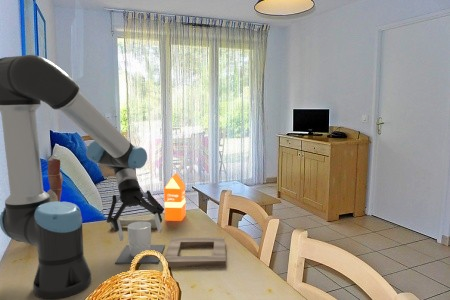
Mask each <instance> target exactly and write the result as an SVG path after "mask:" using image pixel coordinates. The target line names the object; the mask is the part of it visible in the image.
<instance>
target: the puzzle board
mask: <svg viewBox="0 0 450 300" xmlns="http://www.w3.org/2000/svg"><path fill="white" fill-rule="evenodd" d="M225 238H226V237H224V236H223V237H222V236H221V237H219V236H217V237H212V236H210V237H171V238H170V240H169V242H168V243H169V244H168V246H167V249H166V251H165V254H164V257H165V258H166V259H167V261H168V263H169V267H170V268H172V269H173V268H175V269H176V268H226V267H227V257H226V255H227V253H226V239H225ZM181 248H213V255H180V253H181ZM170 268H169V269H170Z"/></svg>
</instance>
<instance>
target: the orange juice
mask: <svg viewBox="0 0 450 300" xmlns="http://www.w3.org/2000/svg"><path fill="white" fill-rule="evenodd" d="M163 191H164V194H163V195H164V220H165V221H173V222H176V221H177V222H178V221H179V222H182V221H183V220H184V218H185V217H186V215H187V213H186V211H187V210H186V184H185V183H184V181H183V180H182V179H181V177H180V176H179V174H178V173H177V172H176V173H175V174H174V175H173V176H171V178H170V179H169V181H168V182H167V184H166V185H165V187H164V188H163Z"/></svg>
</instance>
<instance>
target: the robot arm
mask: <svg viewBox="0 0 450 300" xmlns="http://www.w3.org/2000/svg"><path fill="white" fill-rule="evenodd" d="M41 102H43V103H45V104H47V105H48V106H49V107H50V108H51V109H53V110H60V111H61V112H62V114H64V115H65V116H66V117H67V118H68V119H69V120H70V121H72V122H73V123H74V124H75V125H76V126H77V127H78V128H80V129H81V130H82V131H83V132H84V133H85V134H87V136H89V137H90V138H91V139H92V140H93V141H92V142H90V143H89V145H88V146H87V148H86V151H85V155H86V158H87V159H88V160H89V161H90V162H91V161H92V162H93V163H95V164H98V165H101V166H103V167H106V168H108V169H111V170H113V172H114V177H115V181H116V185H117V190H118V193H119V195H118V196H117V195H112V197H111V206H110V209H109V212H108V214H107V218H106V223H108V224H111V223H112V224H113V226H114V228H113V231H114V232H117V233H118V237H119V241H120V242H121V241H123V239H124V233H123V229H122V227H121V224H120V220H118V218H119V217H120V218H121V215H122V214H123V212H124V210H126V207H129V208H132V207H138V206H140V207H142V208H144V209H146V210H147V211H148V212H150V213H151V214H153V216H154V219H155V222H156V226H157V228H156V229H157V232H158V234H160V233H162V232H163V226H162V221H163V218H162V215H161V214H163V213H164V212H165V207H163V206H162V205H161V204H160V203H159V202H158V201H157V199H156V198H155V197H154V196H153V195H152V193H151V191H150V190H147V191H146V192H142V191H141V187H140V184H139V180H138V177H137V173H136V169H142V168H143V167H145V165H146V163H147V161H148V154H147V151H146V150H145V148H143V147H141V146H138V145H136V146H135V145H134V144H132V143H131V141H129V140H128V139H127V138H126V136H124V135H123V133H121V132H120V131H119V129H117V128H116V126H114V125H113V124H112V122H110V120H109V119H108V118H107V117H106V116H105V115H103V114H102V112H100V110H99V109H97V107H96V106H95V105H94V104H93V103H92V102H91V101H90V100H89V99H87V97H86V96H85V95H84V94H83V93H82V92H81V90H80V85H79V83H77V82H76V81H75V80H74V79H73V78H72V77H71V76H70V75H69V74H68V73H67V72H65V71H64V70H63V69H62V68H61V67H59V66H58V65H56V64H55V63H54V62H52V61H50V60H48V59H47V58H45V57H42V56H39V55H35V54H26V55H25V54H24V55H18V56H17V55H16V56H6V57H0V113H1V114H0V115H1V122H2V123H1V124H2V132H3V140H4V141H3V142H4V149H5V158H6V160H5V161H6V167H7V169H6V170H7V175H8V185H9V186H8V187H9V196H8V197H6V198H5V200H4V206H5V207H4V208H3V211H2V212H0V229H1V231H2V233H4V235H6V236H7V237H9V239H12V240H14V241H16V242H20V243H24V244H27V245H30V246H34V247H37V257H38V266H37V269H36V272H35V275H34V280H33V283H32V288H33V294H34V295H35V296H36V297H38V298H41V299H45V300H54V299H55V300H56V299H62V298H63V299H64V298H68V297H70V296H74V295H77V294H79V293H80V292H82V291H84V290H85V289H87V288H88V287H90V285H91V282H92V270H91V269H90V267H89V264H88V262H87V260H86V257H85V255H84V237H83V217H82V212H81V209H80V207H79V206H78V205H77V204H75V203H74V202H73V203H72V202H68V201H61V200H60V201H56V202H50V197H49V194H48V193H47V192H46V191H45V190H44V185H43V184H44V183H43V174H42V163H41V154H40V144H39V142H40V141H39V135H38V133H39V132H38V124H37V114H36V113H37V110H38V109H39V108H40V107H41V104H42V103H41ZM146 200H147V201H146ZM119 201H120V202H121V203H122V204H121V206H120V207H119V209H118V210H117V212H116V213H115V215H114V211H115V208H116V204H117V203H119ZM113 215H114V216H113Z"/></svg>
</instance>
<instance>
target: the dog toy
mask: <svg viewBox="0 0 450 300" xmlns="http://www.w3.org/2000/svg"><path fill="white" fill-rule="evenodd" d="M154 216H155V215H153V216H151V217H149V218H144V219H143V218H141V219H140V218H136V219H135V218H129V219H128V218H122V217H121V216H120V217H119V218H118V220H120V224H121V228H122V227H127V226H128V225H129V224H131V223H134V222H141V221H143V222H149V223H151V230H153V229H154V230H155V229H157V226H156V222H155V219H154ZM109 226H110V228H111V229H114V226H113V224H112V223H111V222H110V223H109Z"/></svg>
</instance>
